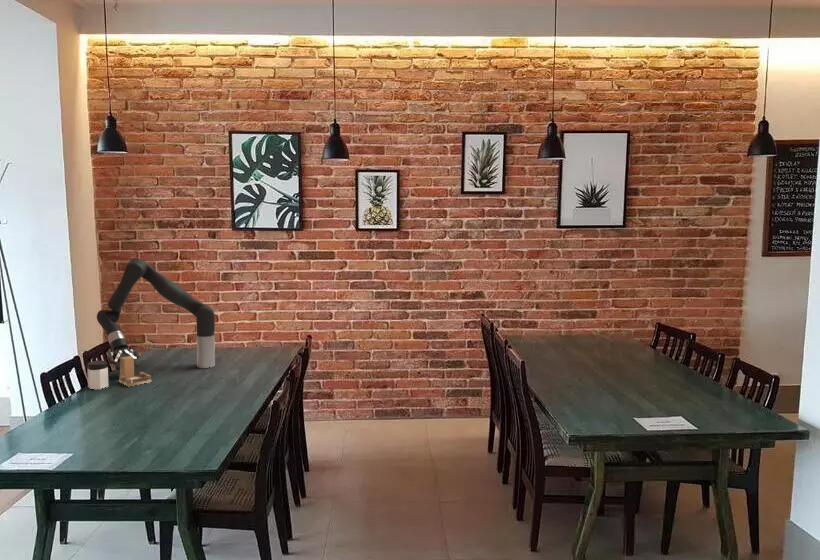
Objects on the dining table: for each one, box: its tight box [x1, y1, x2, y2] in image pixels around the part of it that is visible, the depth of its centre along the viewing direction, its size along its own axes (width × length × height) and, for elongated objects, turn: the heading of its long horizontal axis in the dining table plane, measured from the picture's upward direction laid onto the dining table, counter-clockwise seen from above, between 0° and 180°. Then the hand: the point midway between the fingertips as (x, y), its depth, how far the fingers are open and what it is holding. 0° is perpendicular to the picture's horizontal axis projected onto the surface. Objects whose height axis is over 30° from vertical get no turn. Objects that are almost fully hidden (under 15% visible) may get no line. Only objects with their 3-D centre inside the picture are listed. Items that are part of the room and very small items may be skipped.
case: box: [119, 355, 135, 378], centre depth 295 cm, size 6×4×10 cm
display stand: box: [118, 371, 153, 388], centre depth 286 cm, size 11×11×4 cm
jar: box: [87, 360, 109, 390], centre depth 277 cm, size 9×8×12 cm
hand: (127, 367), depth 295 cm, fingers open, 8 cm apart
